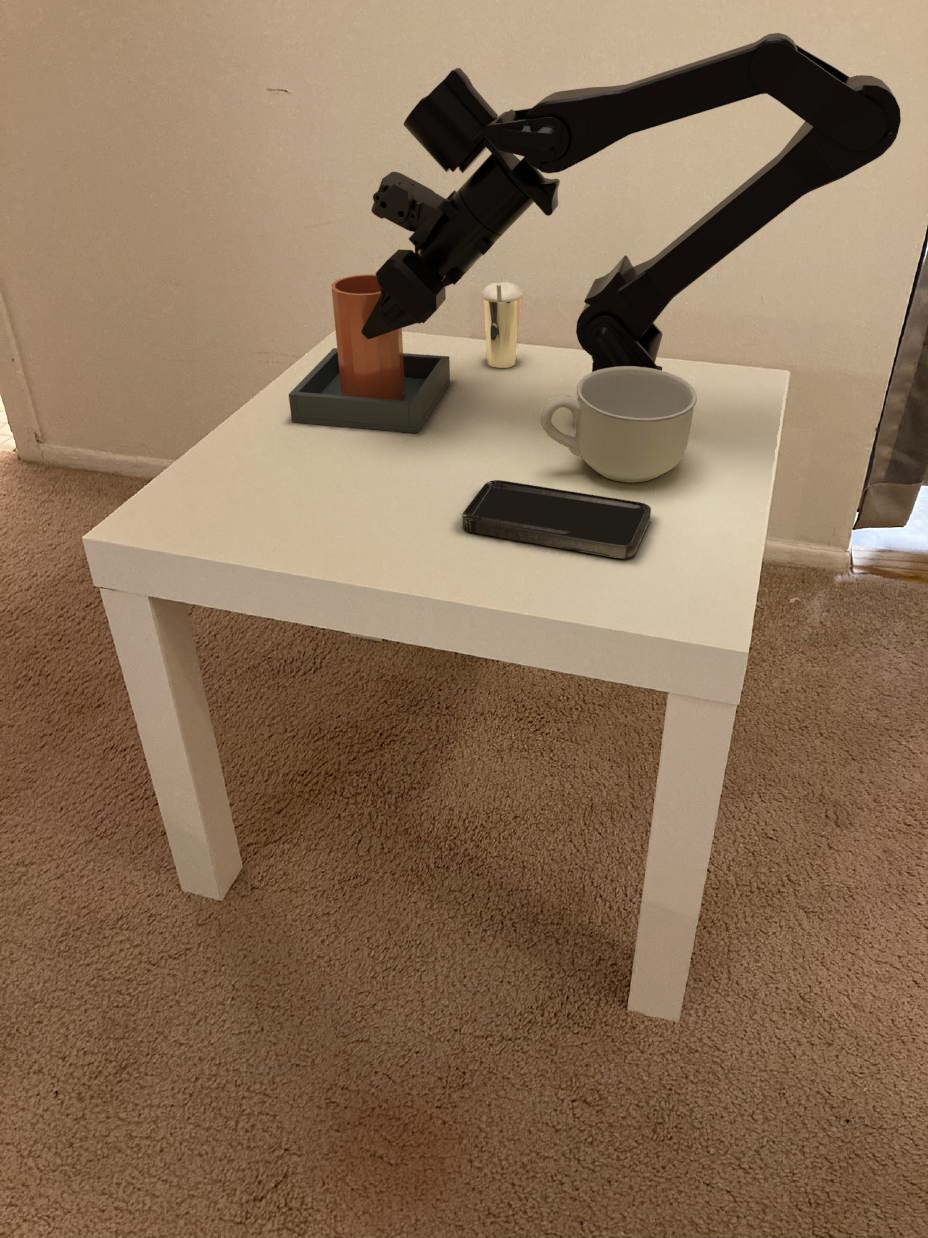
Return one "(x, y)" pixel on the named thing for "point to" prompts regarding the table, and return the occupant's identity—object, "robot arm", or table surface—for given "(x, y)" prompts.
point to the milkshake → (501, 322)
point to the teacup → (627, 421)
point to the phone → (558, 518)
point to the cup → (365, 343)
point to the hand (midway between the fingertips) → (378, 320)
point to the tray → (327, 406)
